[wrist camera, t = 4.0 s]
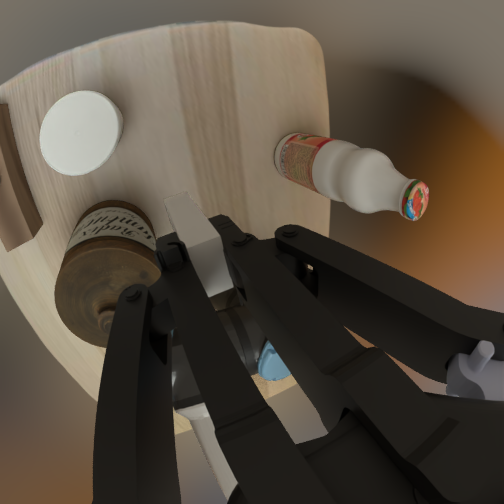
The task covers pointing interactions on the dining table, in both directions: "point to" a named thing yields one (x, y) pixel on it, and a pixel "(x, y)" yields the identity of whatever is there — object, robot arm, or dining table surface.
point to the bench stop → (14, 191)
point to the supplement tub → (80, 132)
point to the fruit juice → (350, 175)
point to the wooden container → (104, 267)
